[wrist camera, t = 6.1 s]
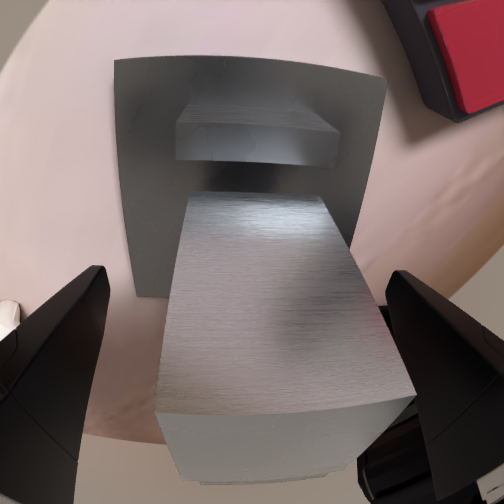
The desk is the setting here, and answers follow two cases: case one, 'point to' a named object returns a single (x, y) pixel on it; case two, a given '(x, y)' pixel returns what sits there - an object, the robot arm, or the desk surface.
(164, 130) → the stand base
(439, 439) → the robot arm
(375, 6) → the desk surface
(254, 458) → the column
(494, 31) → the button control pad
